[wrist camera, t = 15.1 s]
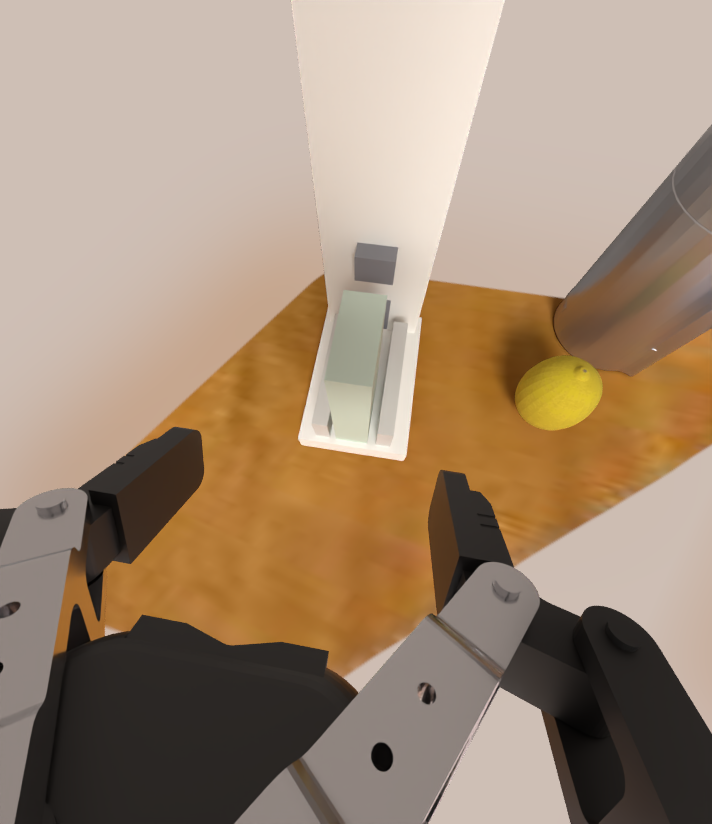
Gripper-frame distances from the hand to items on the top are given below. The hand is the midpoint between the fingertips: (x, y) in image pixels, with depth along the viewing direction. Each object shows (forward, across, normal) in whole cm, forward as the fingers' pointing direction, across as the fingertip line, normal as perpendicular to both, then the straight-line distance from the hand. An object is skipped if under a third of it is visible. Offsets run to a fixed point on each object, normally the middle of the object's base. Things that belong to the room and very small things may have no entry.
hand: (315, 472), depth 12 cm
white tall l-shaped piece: (+21, 0, +4) cm, 22 cm away
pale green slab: (+18, 0, +5) cm, 18 cm away
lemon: (+21, -16, +5) cm, 27 cm away
